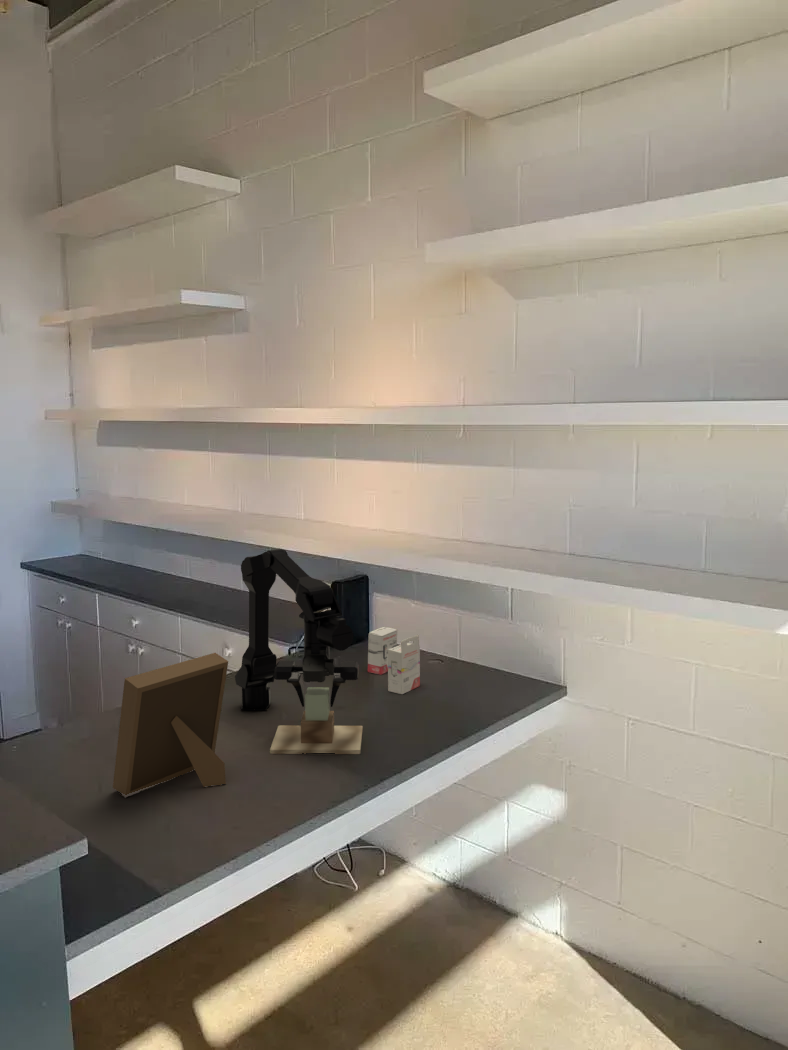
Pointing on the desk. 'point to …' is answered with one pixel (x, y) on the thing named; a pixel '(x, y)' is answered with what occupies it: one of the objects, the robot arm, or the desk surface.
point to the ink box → (380, 649)
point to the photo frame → (171, 724)
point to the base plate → (338, 747)
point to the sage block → (317, 704)
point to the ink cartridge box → (404, 666)
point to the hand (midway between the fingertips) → (317, 706)
